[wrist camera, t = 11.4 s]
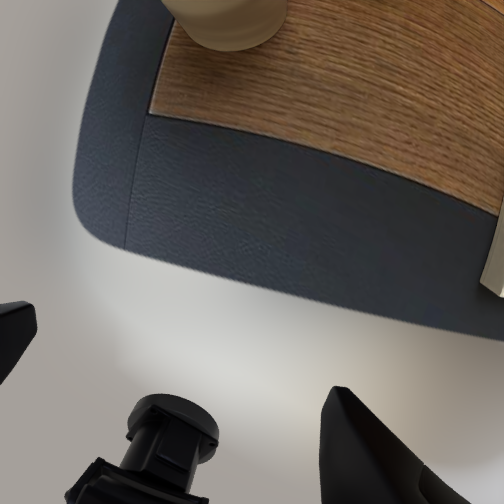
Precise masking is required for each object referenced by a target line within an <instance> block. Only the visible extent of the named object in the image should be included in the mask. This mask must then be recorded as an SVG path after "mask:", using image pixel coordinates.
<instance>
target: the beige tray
mask: <svg viewBox="0 0 504 504" xmlns="http://www.w3.org/2000/svg"><path fill="white" fill-rule="evenodd" d="M480 283H481V284H483V285H484V286H486V287H487V288H489V289H490V290H491V291H493V292H494V293H495V294H497V295H498V296H500V297H503V298H504V197H503V202H502V206H501V211H500V215H499V219H498V223H497V227H496V230H495V234H494V238H493V241H492V245H491V248H490V251H489V255H488V258H487V261H486V264H485V267H484V270H483V273H482V276H481V279H480Z"/></svg>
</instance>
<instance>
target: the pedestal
mask: <svg viewBox="0 0 504 504" xmlns="http://www.w3.org/2000/svg"><path fill="white" fill-rule="evenodd" d="M161 1H162V3H163V4H164V5H165V6H166V8H167V9H168V10H169V11H170V13H171V14H172V15H173V16H174V17H175V19H176V20H177V21H178V23H179V24H180V25H181V26H182V28H183V29H184V30H185V31H186V33H187V34H188V35H189V36H190V37H191V38H192V39H193V40H194V41H195V42H197V43H198V44H200V45H202V46H204V47H206V48H209V49H213V50H218V51H240V50H245V49H249V48H252V47H255V46H257V45H259V44H261V43H263V42H265V41H267V40H268V39H269V38H271V37H272V36H273V35H274V34H275V33H276V32H277V31H278V30H279V29H280V27H281V26H282V24H283V23H284V21H285V18H286V15H287V3H288V0H161Z"/></svg>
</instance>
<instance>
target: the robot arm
mask: <svg viewBox="0 0 504 504" xmlns="http://www.w3.org/2000/svg"><path fill="white" fill-rule="evenodd" d="M36 333H37V321H36V313H35V308H34V306H33V305H32V304H30V303H28V302H26V301H18V302H11V303H6V304H0V385H1V384H2V382H3V381H4V380H5V379H6V377H7V376H8V375H9V373H10V372H11V371H12V369H13V368H14V367H15V365H16V364H17V362H18V361H19V359H20V358H21V356H22V355H23V353H24V351H25V350H26V348H27V347H28V345H29V344H30V342H31V341H32V339H33V338H34V337H35V335H36ZM155 410H156V411H155ZM126 438H127V440H129V441H130V442H131V444H130V446H129V449H128V450H127V452H126V454H125V456H124V458H123V461H122V462H121V464H120V466H119V467H117V466H115V465H113V464H110V463H108V462H106V461H105V460H104V459H102V458H100V457H98V458H97V459H96V461H95V462H94V463H91V465H90V466H89V467H88V468H87V470H86V471H85V472H84V473H83V475H82V476H81V477H80V478H79V480H78V481H77V482H76V484H75V485H74V486H73V487H72V488H70V489H69V490H68V491H67V492H66V493H65V496H64V497H65V500H66V502H67V504H208V503H209V499H208V498H205V497H202V498H201V497H198V496H194V495H191V494H189V492H190V489H191V485H192V482H193V478H194V474H195V471H196V467H197V464H198V461H200V460H201V459H202V458H204V457H205V456H206V455H208V454H209V453H210V452H212V451H213V450H214V449H215V448H217V447H218V443H219V442H218V440H217V439H215V438H213V437H212V436H210V435H208V434H206V433H204V432H202V431H200V430H199V429H197V428H195V427H193V426H191V425H190V424H188V423H186V422H184V421H183V420H181V419H179V418H178V417H176V416H174V415H173V414H171V413H169V412H168V411H166V410H164V409H163V408H161V407H159V406H158V405H156V404H151V405H150V406H149V407H148V408H147V410H146V411H145V412H144V413H143V415H142V416H141V417H140V418H139V419H138V421H137V422H136V423H135V424H134V426H133V427H132V428H131V429H130V430H129V432H128V433H127V435H126ZM319 470H320V485H321V502H322V504H471V503H470V502H468V501H467V500H466V499H464V498H463V497H462V496H460V495H459V494H458V493H456V492H455V491H454V490H453V489H452V488H450V487H449V486H448V485H447V484H445V483H444V482H443V481H442V480H441V479H440V478H439V477H438V476H437V475H436V474H435V473H433V472H432V471H431V470H430V469H429V468H428V467H427V466H426V465H424V463H423V462H422V461H421V460H420V459H419V458H418V457H417V456H416V455H415V454H414V453H413V452H412V451H411V450H410V449H409V448H407V446H406V445H405V444H404V443H403V442H402V441H401V440H400V439H399V438H397V436H396V435H394V434H393V433H392V432H391V431H390V430H389V429H388V428H387V427H386V426H385V425H384V424H383V423H382V422H381V421H380V420H379V419H378V418H377V417H376V416H375V415H374V414H373V413H372V412H371V411H370V410H369V409H368V407H367V406H366V405H364V403H362V402H361V400H360V399H359V398H358V397H357V396H356V395H355V394H353V392H352V391H350V389H348V388H347V387H340V386H334V387H332V389H331V390H330V392H329V395H328V397H327V399H326V402H325V403H324V406H323V408H322V412H321V430H320V449H319Z"/></svg>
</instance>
